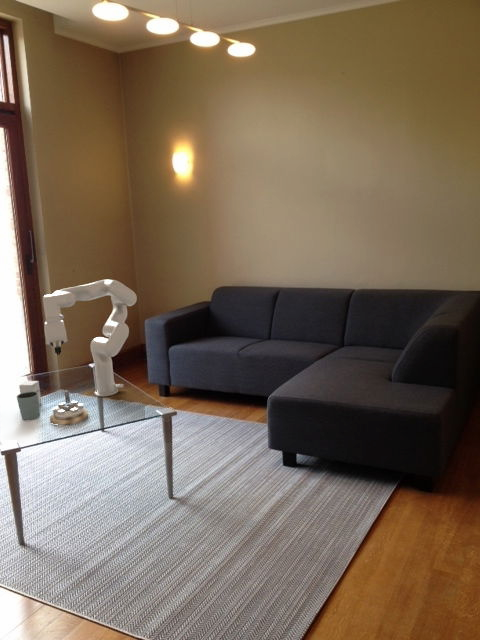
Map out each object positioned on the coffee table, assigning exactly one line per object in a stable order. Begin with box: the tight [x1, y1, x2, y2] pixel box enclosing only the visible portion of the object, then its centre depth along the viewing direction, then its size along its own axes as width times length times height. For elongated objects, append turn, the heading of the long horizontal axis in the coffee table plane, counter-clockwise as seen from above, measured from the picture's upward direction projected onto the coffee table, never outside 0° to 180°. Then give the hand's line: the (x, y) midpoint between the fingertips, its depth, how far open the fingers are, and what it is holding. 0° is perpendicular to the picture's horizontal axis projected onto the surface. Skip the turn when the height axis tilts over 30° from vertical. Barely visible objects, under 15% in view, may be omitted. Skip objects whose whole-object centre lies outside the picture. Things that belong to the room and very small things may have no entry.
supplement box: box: [18, 380, 42, 405], centre depth 306 cm, size 7×7×13 cm
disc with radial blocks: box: [52, 389, 84, 420], centre depth 283 cm, size 14×14×10 cm
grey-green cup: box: [16, 392, 41, 421], centre depth 289 cm, size 10×10×12 cm
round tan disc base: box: [49, 408, 89, 426], centre depth 285 cm, size 18×18×3 cm
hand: (58, 354), depth 295 cm, fingers closed
